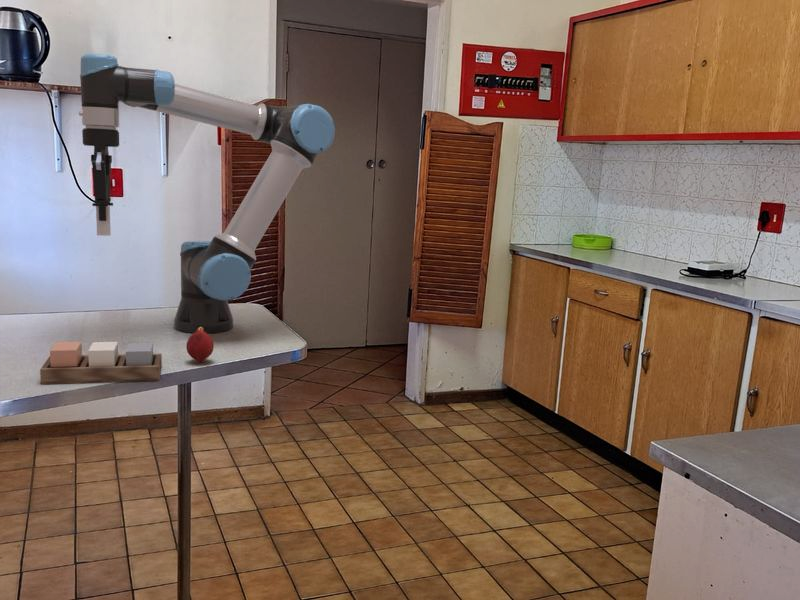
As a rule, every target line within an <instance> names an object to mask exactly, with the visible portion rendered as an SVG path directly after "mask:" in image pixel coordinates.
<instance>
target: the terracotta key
mask: <svg viewBox="0 0 800 600" xmlns="http://www.w3.org/2000/svg"><path fill="white" fill-rule="evenodd" d="M82 355H83V344H82V341H56V342H55V343H54V344H53V346H52V347H51V348H50V350H49V357H50V364H51V367H70V366H77V365H78V364H79V362H80V360H81V358H82Z"/></svg>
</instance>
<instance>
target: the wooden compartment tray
mask: <svg viewBox="0 0 800 600" xmlns="http://www.w3.org/2000/svg"><path fill="white" fill-rule="evenodd" d="M162 359H163V358H162V353H153V361H152V365H150V366H126V353H124V354H122V353H121V354H119V353H118V359H117V361H116V364H115V366H103V367H89V355H88V354H82V358H81V360H80V362H79V364H78V365H77V366H70V367H51V364H50V356H49V357H47V359H46V361H44V364H42V366H41V368H40V369H39V375H40V376H39V377H40V385H60V384H61V385H62V384H63V385H65V384H66V385H67V384H95V383H96V384H99V383H134V382H135V383H136V382H159V381H160V380H161V373H162V368H163V367H162V366H163V364H162V363H163V361H162Z"/></svg>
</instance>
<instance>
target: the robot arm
mask: <svg viewBox="0 0 800 600" xmlns="http://www.w3.org/2000/svg"><path fill="white" fill-rule="evenodd" d="M79 74H80V75H79V77H80V95H81V96H80V99H81V100H80V101H81V110H82V111H81V110H80V111H79V112H78V115H79V116H80V117H81V123H82V125H83V126H85V128H83V129H82V130H81V131H82V145H84V146H86V147H87V146H89V147H90V146H91V147H94V148H93V154H90V162H91V165H92V176H93V177H92V178H93V189H94V190H93V191H94V193H93V195H94V202H93V203H92V207H95V213H96V214H95V215H96V236H107V237H108V236H109V237H110V236H111V207H113V206H114V202H111V200H112V198H111V175H112V162H113V156H112V155H111V154H110V153H109V148H118V147H119V146H120V132H119V130H118V129H117V128H120V109H119V102H122V103H123V104H124V105H127V107H128V106H129V107H132V108H137V107H139V108H143V109H145V110H149V111H155V112H159V113H163V114H167V115H171V116H174V117H178V118H182V119H186V120H190V121H195V122H198V123H203V124H207V125H210V126H214V127H218V128H223V129H227V130H230V131H235V132H239V133H243V134H247V135H250V137H251V138H252V140H254V141H258V142H262V143H265V144H268V145H270V147H271V152H270V154H269V156H268V158H267V160H266V161H265V163H264V164H263V166H262V168H261V169H260V171H259V172H258V174H257V176H256V178H255V180H254V181H253V183H252V185H251V186H250V188H249V190H248V191H247V192H246V193H247V194H245V197H244V198H243V199H242V201H241V203H240V205H239V206H238V207H237V210H236V212H235V213H234V215H233V216H232V218H231V220H230V222H229V223H228V225H227V227H226V228H225V230H224V231H223V233H221V234H220V233H219V234H215V235H214V236H213V238H212V240H210V241H209V240H203V241H202V240H201V241H200V240H199V241H183V243H181V246H180V253H179V256H180V301H179V304H178V306H177V310H176V313H175V316H174V320H173V321H174V322H173V323H174V326H173V327H174V329H175V330H177V331H180V332H185V333H191V334H193V333H195V332H196V331H197V330H198V328H199V327H202V328H204V330H203V331H204V332H206V333H207V334H211V333H212V334H213V333H221V332H226V331H229V330H231V329H233V328H234V317H233V314H232V311H231V308H230V305H229V302H228V301H231V300H234V299H237V298H239V297H240V296H241V295H243V294H244V293H245V292H246V290H247V289H248V288H249V285H250V283H251V279H252V273H251V270H252V268H253V266H254V265H255V262H256V261H257V256H256V253H255V252H256V251H255V250H256V249H257V247H258V246H259V244H260V242H261V241H262V238H263V237H264V235H265V233H266V231H267V230H268V228H269V226H270V225H271V224H272V221H273V220H274V218H275V216H276V215H277V213H278V212H279V210H280V208H281V206H282V205H283V203H284V201H285V199H286V197H288V194H289V193H290V191H291V189H292V187H293V186H294V184H295V182H296V180H297V179H298V177H299V175H300V174H301V172H302V170H304V169H307V168H311V167H312V165H313V164H314V162H315V160H316V159H317V157H318V155H319V154H320V153H323V152H324V151H326V150H328V149H329V147H331V145H332V144H333V142H334V139H335V136H336V135H335V134H336V127H335V123H334V120H333V118H332V116H331V114H330V113H329V112H328V111H327V110H326V109H325V108H324V107H322V106H320V105H316V104H312V103H305V104H304V103H302V104H299V105H284V106H281V105H270V104H265V103H262V102H261V103H259V104H257V105H254V104H251V103H247V102H242V101H240V100H237V99H236V100H235V99H232V98H229V97H225V96H221V95H217V94H214V93H210V92H207V91H203V90H199V89H196V88H195V89H194V88H193V87H192V88H191V87H188V86H184V85H180V84H178V83H175V78H174V75H173V74H172V73H171V72H170V71H165V70H159V69H149V68H148V69H147V68H136V67H135V68H134V67H125V66H121V65H119V63H118V58H117V57H116V56H114V55H110V54H108V55H107V54H103V53H86V54H83V55H82V56H81V57H80V73H79ZM109 154H110V155H109Z"/></svg>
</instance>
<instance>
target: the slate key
mask: <svg viewBox="0 0 800 600" xmlns="http://www.w3.org/2000/svg"><path fill="white" fill-rule="evenodd" d="M125 354H126V366H150V365H152V361H153V354H154V342H132V343H131V342H129V343H128V345H127V347H126V350H125Z"/></svg>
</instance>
